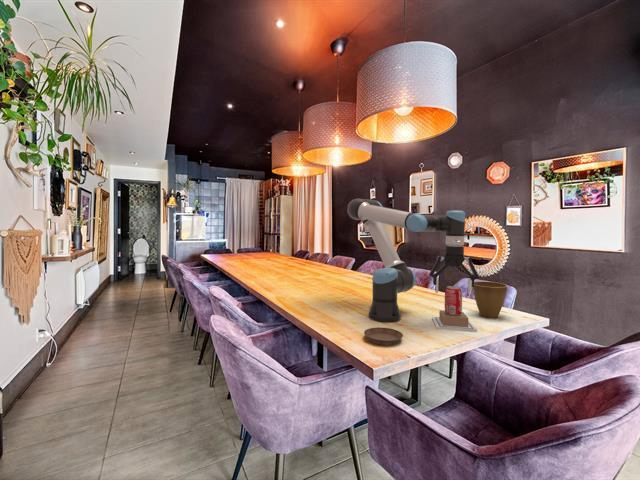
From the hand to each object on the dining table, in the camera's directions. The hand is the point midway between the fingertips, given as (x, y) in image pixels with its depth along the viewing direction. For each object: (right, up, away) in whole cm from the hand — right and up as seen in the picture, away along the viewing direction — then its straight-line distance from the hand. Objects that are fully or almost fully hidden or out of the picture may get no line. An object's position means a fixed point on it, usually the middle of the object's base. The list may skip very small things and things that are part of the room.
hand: (452, 293), depth 132 cm
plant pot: (+24, -14, +14) cm, 31 cm away
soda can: (0, -9, 0) cm, 9 cm away
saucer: (-35, -15, -17) cm, 42 cm away
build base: (0, -14, 0) cm, 14 cm away
